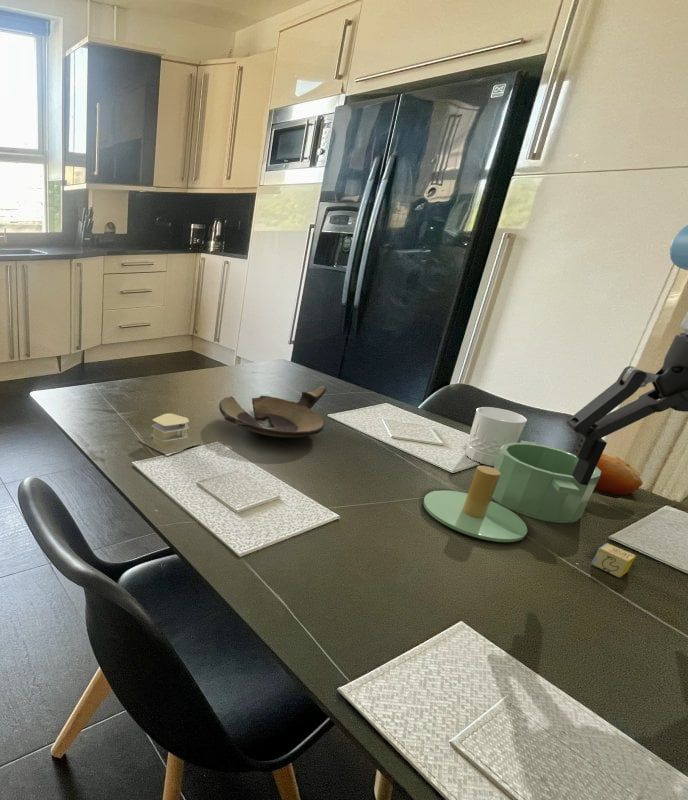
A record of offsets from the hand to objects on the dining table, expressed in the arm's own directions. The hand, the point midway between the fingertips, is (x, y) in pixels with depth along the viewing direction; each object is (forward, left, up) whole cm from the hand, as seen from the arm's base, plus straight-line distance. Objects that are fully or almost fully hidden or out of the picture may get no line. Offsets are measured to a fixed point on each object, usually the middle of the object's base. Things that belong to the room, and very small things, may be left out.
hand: (645, 492), depth 65 cm
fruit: (-9, -27, -13) cm, 31 cm away
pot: (+4, -17, -13) cm, 21 cm away
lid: (+15, -6, -12) cm, 20 cm away
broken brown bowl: (+47, -29, -13) cm, 57 cm away
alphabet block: (0, 0, -13) cm, 13 cm away
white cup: (+7, -33, -13) cm, 36 cm away
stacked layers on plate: (+68, -11, -13) cm, 70 cm away
